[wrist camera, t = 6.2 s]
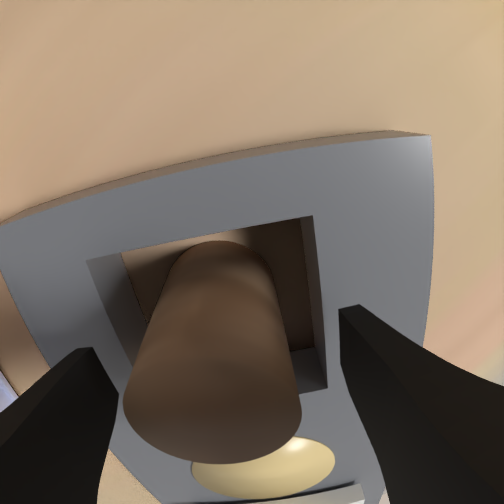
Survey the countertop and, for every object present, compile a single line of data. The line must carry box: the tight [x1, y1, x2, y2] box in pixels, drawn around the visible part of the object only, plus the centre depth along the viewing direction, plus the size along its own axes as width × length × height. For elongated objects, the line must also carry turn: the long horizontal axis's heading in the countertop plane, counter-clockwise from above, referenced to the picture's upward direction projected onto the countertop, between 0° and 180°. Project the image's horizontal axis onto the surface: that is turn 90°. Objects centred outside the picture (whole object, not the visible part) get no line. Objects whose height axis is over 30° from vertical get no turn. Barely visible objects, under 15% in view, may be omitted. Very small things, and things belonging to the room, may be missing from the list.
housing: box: [0, 130, 434, 504], centre depth 14 cm, size 14×26×3 cm, turn 10°
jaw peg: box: [123, 241, 302, 464], centre depth 9 cm, size 4×4×6 cm
